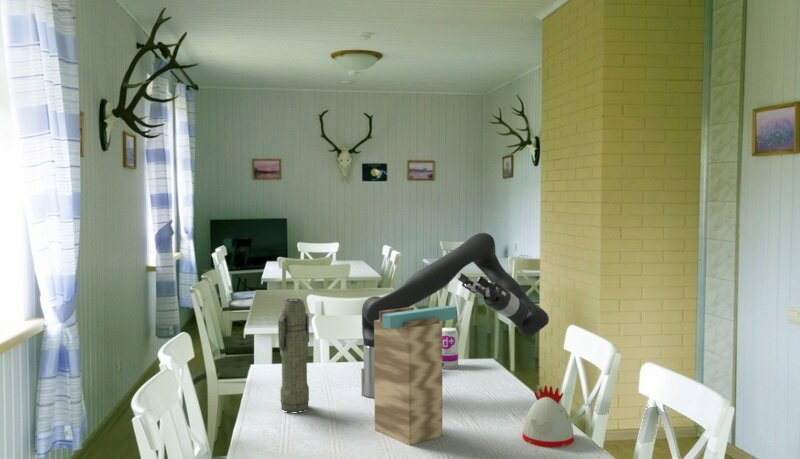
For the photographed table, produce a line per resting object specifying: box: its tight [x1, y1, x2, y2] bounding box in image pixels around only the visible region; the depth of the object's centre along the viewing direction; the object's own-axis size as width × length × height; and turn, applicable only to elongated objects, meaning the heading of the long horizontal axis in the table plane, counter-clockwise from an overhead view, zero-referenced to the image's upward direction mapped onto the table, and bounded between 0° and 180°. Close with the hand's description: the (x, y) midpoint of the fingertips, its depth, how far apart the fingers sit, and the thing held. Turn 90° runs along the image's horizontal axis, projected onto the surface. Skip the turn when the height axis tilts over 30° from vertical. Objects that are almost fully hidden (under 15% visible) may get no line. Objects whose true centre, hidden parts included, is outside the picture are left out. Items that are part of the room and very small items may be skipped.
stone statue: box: [277, 298, 310, 413], centre depth 228 cm, size 9×12×35 cm
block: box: [382, 305, 457, 329], centre depth 203 cm, size 24×4×4 cm, turn 128°
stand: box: [374, 306, 443, 446], centre depth 205 cm, size 12×16×35 cm
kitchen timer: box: [522, 384, 575, 448], centre depth 200 cm, size 14×14×15 cm
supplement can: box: [442, 327, 459, 370], centre depth 282 cm, size 8×8×15 cm
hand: (468, 277), depth 215 cm, fingers open, 8 cm apart
